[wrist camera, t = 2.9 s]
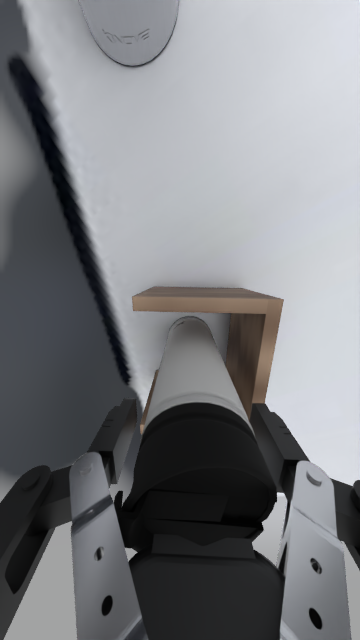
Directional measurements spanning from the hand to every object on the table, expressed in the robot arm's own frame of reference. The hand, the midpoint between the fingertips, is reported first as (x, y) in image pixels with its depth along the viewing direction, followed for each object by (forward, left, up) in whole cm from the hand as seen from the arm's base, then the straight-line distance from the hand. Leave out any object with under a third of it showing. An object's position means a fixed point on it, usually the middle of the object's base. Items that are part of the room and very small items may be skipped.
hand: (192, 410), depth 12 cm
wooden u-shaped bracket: (0, 0, -14) cm, 14 cm away
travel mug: (0, 0, -14) cm, 14 cm away
